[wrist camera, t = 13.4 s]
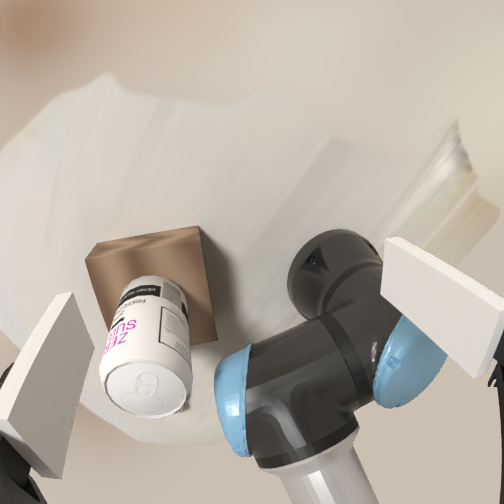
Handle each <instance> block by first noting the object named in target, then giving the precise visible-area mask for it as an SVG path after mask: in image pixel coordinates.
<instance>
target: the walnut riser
mask: <svg viewBox="0 0 504 504" xmlns="http://www.w3.org/2000/svg"><path fill="white" fill-rule="evenodd" d="M85 263H86V266H87V269H88V273H89V276H90V279H91V283H92V286H93V289H94V292H95V295H96V298H97V301H98V304H99V307H100V310H101V312H102V315H103V318H104V321H105V323H106V326H107V329H108V331H109V332H110V329H111V325H112V322H113V319H114V316H115V313H116V310H117V307H118V304H119V301H120V298H121V295H122V293H123V290H124V288H125V287H126V286H127V285H128V284H129V283H130V282H131V281H132V280H135V279H137V278H140V277H142V276H153V275H156V276H159V277H163V278H167V279H168V280H170V281H172V282H173V283H175V284H176V285H177V286H178V287H179V288H180V289H181V291H182V292H183V293H184V295H185V299H186V302H187V308H188V325H189V339H190V345H194V344H200V343H206V342H212V341H217V340H218V337H217V332H216V327H215V321H214V316H213V311H212V305H211V300H210V294H209V288H208V283H207V277H206V271H205V265H204V259H203V252H202V246H201V240H200V234H199V228H198V226H193V227H187V228H181V229H175V230H169V231H163V232H157V233H151V234H145V235H140V236H134V237H129V238H123V239H118V240H112V241H107V242H101V243H97V244H96V246H95V247H94V248H93V249H92V251H91V252H90V253H89V255H88V256H87V258H86V259H85Z"/></svg>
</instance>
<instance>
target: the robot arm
mask: <svg viewBox="0 0 504 504" xmlns="http://www.w3.org/2000/svg"><path fill="white" fill-rule="evenodd" d="M287 287H288V293H289V297H290V299H291V301H292V303H293V305H294V306H295V308H296V309H297V311H298V312H299V313H300V314H301V315H302V316H303V317H304V318H305V319H307V320H308V321H306V322H304V323H301V324H299V325H297V326H295V327H293V328H291V329H289V330H286V331H284V332H282V333H280V334H278V335H275V336H273V337H271V338H268V339H266V340H264V341H261V342H259V343H256V344H253V343H251V344H249V345H248V346H247V347H246V348H244V349H242V350H240V351H238V352H236V353H233V354H231V355H229V356H227V357H225V358H224V359H222V360H221V361H220V362H219V364H218V365H217V367H216V370H215V374H214V393H215V400H216V406H217V411H218V415H219V419H220V422H221V425H222V428H223V431H224V434H225V436H226V439H227V441H228V442H229V443H230V444H231V447H232V449H233V451H234V452H235V453H236V454H237V455H238V456H241V457H250V456H251V455H253V456H254V457H255V459H256V462H257V464H258V466H259V468H260V469H261V470H262V471H265V472H268V473H271V474H274V475H277V476H279V477H280V479H281V481H282V483H283V485H284V487H285V489H286V491H287V493H288V495H289V497H290V499H291V501H292V503H293V504H379V502H378V500H377V498H376V495H375V493H374V491H373V489H372V487H371V484H370V482H369V480H368V478H367V476H366V474H365V471H364V469H363V467H362V465H361V463H360V460H359V458H358V456H357V454H356V452H355V449H354V447H353V441H354V439H355V437H356V435H357V432H358V430H359V424H358V422H357V420H356V418H355V415H354V411H355V410H357V409H358V408H360V407H362V406H364V405H366V404H367V403H370V402H371V401H373V400H375V401H376V402H377V404H379V405H381V406H383V407H385V408H394V407H400V406H402V405H405V404H406V403H408V402H410V401H411V400H413V399H414V398H415V397H417V396H418V395H419V394H420V393H421V392H422V391H424V389H426V387H427V386H428V385H429V384H430V383H431V382H432V381H433V379H434V378H435V376H436V375H437V374H438V372H439V371H440V369H441V367H442V366H443V364H444V362H445V360H446V358H447V356H448V355H449V356H450V357H451V358H452V359H453V360H454V361H456V363H457V364H458V365H459V366H460V367H461V368H463V370H465V371H466V372H467V373H468V374H469V375H470V376H471V377H472V378H473V379H474V380H475V379H476V378H478V377H479V376H481V375H482V374H484V373H485V372H487V370H488V368H489V366H490V363H491V361H492V359H493V358H494V359H495V360H497V361H498V362H497V365H496V367H495V369H494V371H493V373H492V376H491V377H490V379H489V381H488V387H490V386H491V384H492V382H493V380H494V379H496V383H495V384H494V387H497V389H498V398H499V406H500V419H501V438H502V475H501V492H500V504H504V299H503V298H502V297H500V296H499V295H497V294H496V293H494V292H492V291H491V290H489V289H488V288H486V287H484V286H483V285H482V284H480V283H478V282H477V281H475V280H473V279H471V278H470V277H468V276H467V275H465V274H463V273H462V272H460V271H458V270H457V269H455V268H453V267H452V266H450V265H448V264H447V263H445V262H443V261H441V260H440V259H438V258H436V257H434V256H433V255H431V254H429V253H427V252H426V251H424V250H422V249H420V248H418V247H417V246H415V245H413V244H411V243H409V242H407V241H406V240H404V239H402V238H400V237H393V238H388V239H385V246H384V260H383V262H382V260H381V258H380V256H379V255H378V253H377V251H376V249H375V248H374V246H373V245H372V244H371V243H370V242H369V241H368V240H367V239H365V238H364V237H362V236H360V235H359V234H357V233H355V232H353V231H349V230H344V229H337V230H330V231H327V232H324V233H322V234H319V235H318V236H316V237H314V238H313V239H311V240H310V241H309V242H307V243H306V244H305V245H304V246H303V247H302V248H301V250H300V251H299V252H298V254H297V255H296V257H295V258H294V260H293V262H292V264H291V267H290V270H289V274H288V280H287ZM93 351H94V345H93V343H92V341H91V338H90V336H89V334H88V331H87V329H86V326H85V324H84V321H83V319H82V316H81V314H80V311H79V308H78V305H77V303H76V300H75V297H74V294H73V292H68V293H62V294H57V295H56V296H55V298H54V299H53V301H52V302H51V304H50V305H49V307H48V308H47V310H46V311H45V313H44V314H43V316H42V318H41V319H40V321H39V322H38V324H37V325H36V327H35V329H34V330H33V332H32V334H31V335H30V337H29V339H28V340H27V342H26V344H25V345H24V347H23V349H22V350H21V353H20V354H19V356H18V357H17V359H16V361H15V362H13V363H12V364H11V365H10V366H9V367H8V368H7V369H6V370H5V371H4V373H3V375H2V376H1V378H0V504H47V502H46V500H45V499H44V497H43V495H42V494H41V492H40V490H39V488H38V486H37V484H36V483H35V481H34V480H33V478H32V477H31V476H30V475H29V472H30V468H31V467H32V468H33V469H34V470H35V471H36V472H37V473H38V474H39V475H40V476H41V477H47V478H53V479H62V474H63V469H64V463H65V458H66V452H67V448H68V443H69V439H70V434H71V430H72V426H73V422H74V417H75V413H76V409H77V406H78V402H79V398H80V394H81V391H82V387H83V384H84V380H85V377H86V374H87V370H88V367H89V364H90V360H91V357H92V354H93Z"/></svg>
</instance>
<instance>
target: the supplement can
mask: <svg viewBox="0 0 504 504" xmlns="http://www.w3.org/2000/svg"><path fill="white" fill-rule="evenodd" d="M99 373H100V380H101V383H102V385H103V387H104V392H105V394H106V396H107V398H108V399H109V401H110V402H111V403H112V404H113V405H114V406H116V407H117V408H118V409H119V410H121V411H123V412H125V413H127V414H129V415H132V416H136V417H140V418H146V419H149V418H162V417H165V416H169V415H171V414H173V413H175V412H176V411H178V410H179V409H180V408H181V407H182V405H183V404H184V402H185V401H186V397H187V396H188V394H189V393H190V391H191V390H192V380H193V376H192V364H191V352H190V339H189V325H188V308H187V302H186V299H185V295H184V293H183V292H182V291H181V289H180V288H179V287H178V286H177V285H176V284H175V283H173V282H172V281H170V280H168V279H167V278H163V277H159V276H156V275H153V276H142V277H140V278H137V279H135V280H132V281H131V282H130V283H129V284H128V285H127V286H126V287H125V288H124V290H123V293H122V295H121V298H120V301H119V304H118V307H117V310H116V313H115V316H114V319H113V322H112V325H111V329H110V332H109V335H108V339H107V342H106V345H105V349H104V352H103V356H102V360H101V363H100V367H99Z"/></svg>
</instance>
